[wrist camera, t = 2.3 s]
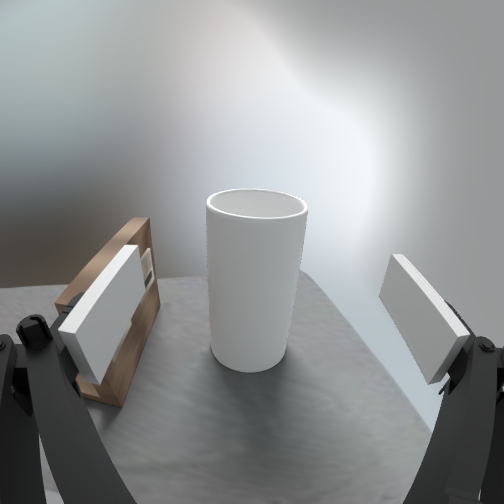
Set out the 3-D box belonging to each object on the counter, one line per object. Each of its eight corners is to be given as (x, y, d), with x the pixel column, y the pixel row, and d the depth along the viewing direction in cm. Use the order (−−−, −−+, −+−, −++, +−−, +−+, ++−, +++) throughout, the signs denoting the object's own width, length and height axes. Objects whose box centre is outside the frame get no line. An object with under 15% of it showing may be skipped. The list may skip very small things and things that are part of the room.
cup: (300, 348, 29) (328, 207, 22) (242, 385, 24) (251, 227, 17) (252, 311, 35) (261, 184, 27) (196, 338, 30) (187, 196, 23)
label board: (125, 408, 20) (80, 307, 15) (56, 388, 20) (4, 292, 15) (163, 305, 35) (152, 217, 29) (107, 299, 34) (90, 217, 29)
